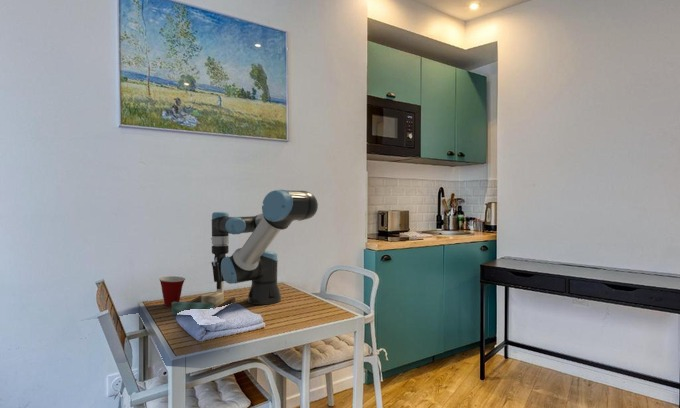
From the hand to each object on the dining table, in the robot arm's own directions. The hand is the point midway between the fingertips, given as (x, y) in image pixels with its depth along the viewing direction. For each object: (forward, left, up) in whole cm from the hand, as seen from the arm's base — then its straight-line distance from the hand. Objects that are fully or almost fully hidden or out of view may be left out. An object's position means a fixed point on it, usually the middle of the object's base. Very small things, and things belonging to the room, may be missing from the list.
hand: (220, 295), depth 185 cm
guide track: (0, +14, -2) cm, 14 cm away
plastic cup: (+17, +12, -2) cm, 21 cm away
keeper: (0, +8, -2) cm, 8 cm away
